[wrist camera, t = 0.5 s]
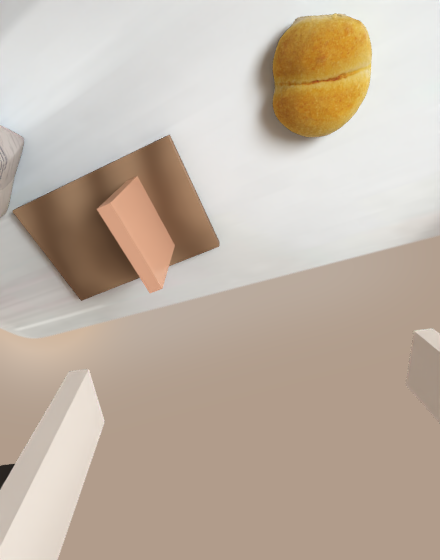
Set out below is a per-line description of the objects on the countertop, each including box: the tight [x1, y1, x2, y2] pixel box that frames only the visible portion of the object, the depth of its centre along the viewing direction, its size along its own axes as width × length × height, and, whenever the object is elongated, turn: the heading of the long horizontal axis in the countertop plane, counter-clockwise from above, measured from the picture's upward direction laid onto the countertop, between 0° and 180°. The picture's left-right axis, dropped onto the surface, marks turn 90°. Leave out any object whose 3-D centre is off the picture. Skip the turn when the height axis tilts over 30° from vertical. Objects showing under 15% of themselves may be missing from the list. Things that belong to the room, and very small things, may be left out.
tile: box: [97, 176, 175, 293], centre depth 30 cm, size 1×8×9 cm, turn 23°
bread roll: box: [273, 13, 372, 137], centre depth 27 cm, size 8×9×4 cm
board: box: [13, 135, 219, 301], centre depth 35 cm, size 18×12×1 cm, turn 113°
